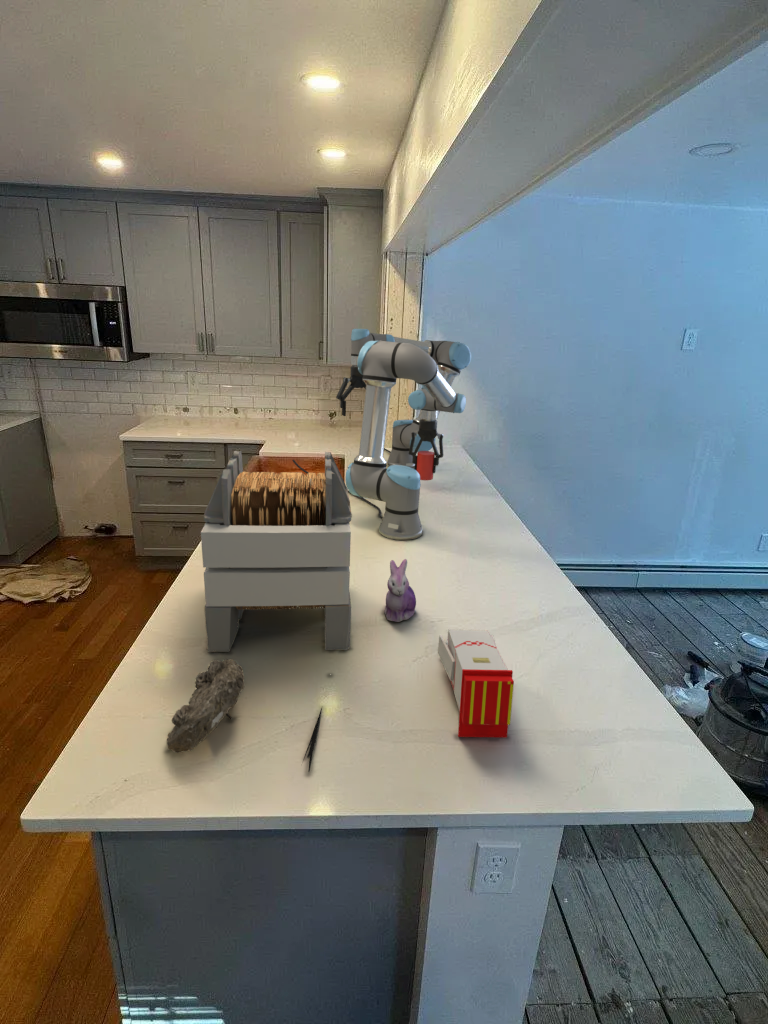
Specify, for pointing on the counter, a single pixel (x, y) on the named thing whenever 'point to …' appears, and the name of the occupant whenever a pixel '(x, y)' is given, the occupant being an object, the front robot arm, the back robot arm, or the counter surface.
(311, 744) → the feather
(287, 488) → the grey boxy piece
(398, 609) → the figurine
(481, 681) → the toy
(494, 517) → the counter surface
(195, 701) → the fossil
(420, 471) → the can
